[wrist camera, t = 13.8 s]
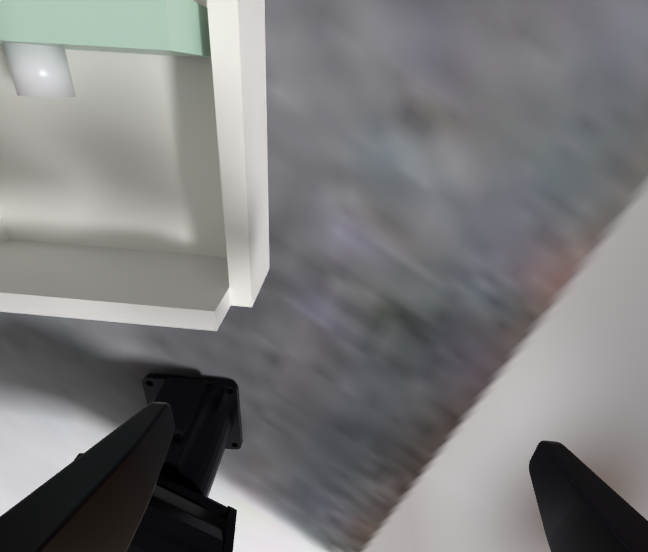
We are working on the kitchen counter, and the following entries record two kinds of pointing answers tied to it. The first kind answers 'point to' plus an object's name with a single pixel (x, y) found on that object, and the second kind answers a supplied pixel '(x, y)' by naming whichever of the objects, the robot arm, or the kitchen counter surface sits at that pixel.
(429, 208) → the kitchen counter surface
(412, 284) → the kitchen counter surface
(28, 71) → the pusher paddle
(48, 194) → the white tray
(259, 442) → the kitchen counter surface
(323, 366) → the kitchen counter surface
